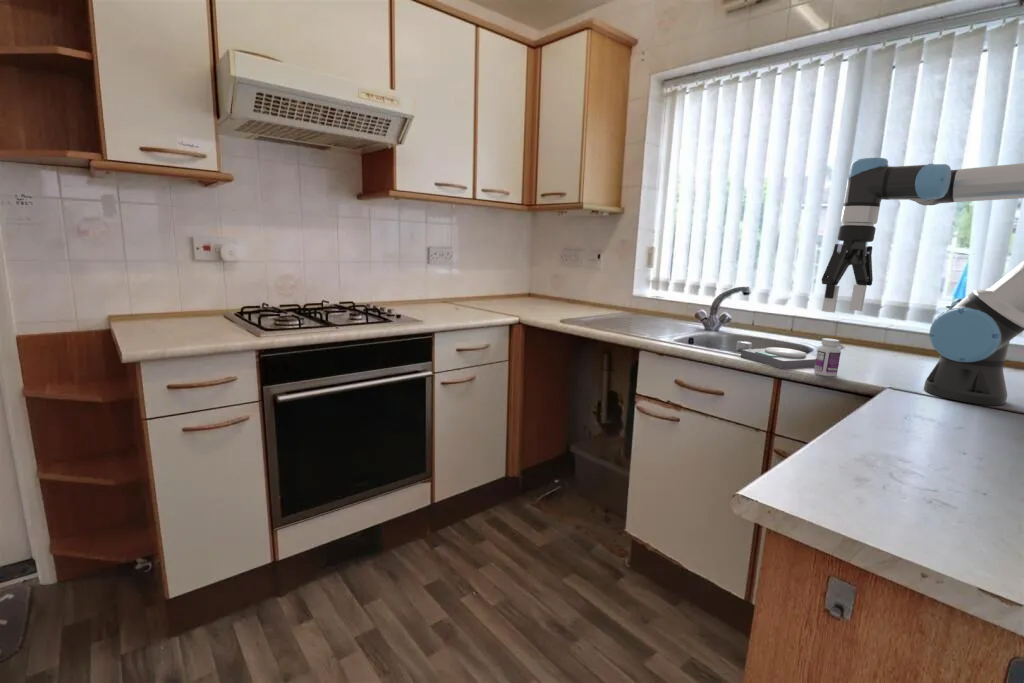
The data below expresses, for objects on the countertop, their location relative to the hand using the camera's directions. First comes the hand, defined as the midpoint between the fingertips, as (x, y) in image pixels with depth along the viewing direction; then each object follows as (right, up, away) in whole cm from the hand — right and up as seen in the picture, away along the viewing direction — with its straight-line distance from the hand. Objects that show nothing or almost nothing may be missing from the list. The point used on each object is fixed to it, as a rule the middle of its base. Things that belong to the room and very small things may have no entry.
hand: (842, 311), depth 132 cm
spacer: (-9, -11, +36) cm, 39 cm away
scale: (-4, -14, +23) cm, 27 cm away
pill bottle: (+1, -17, +9) cm, 19 cm away
